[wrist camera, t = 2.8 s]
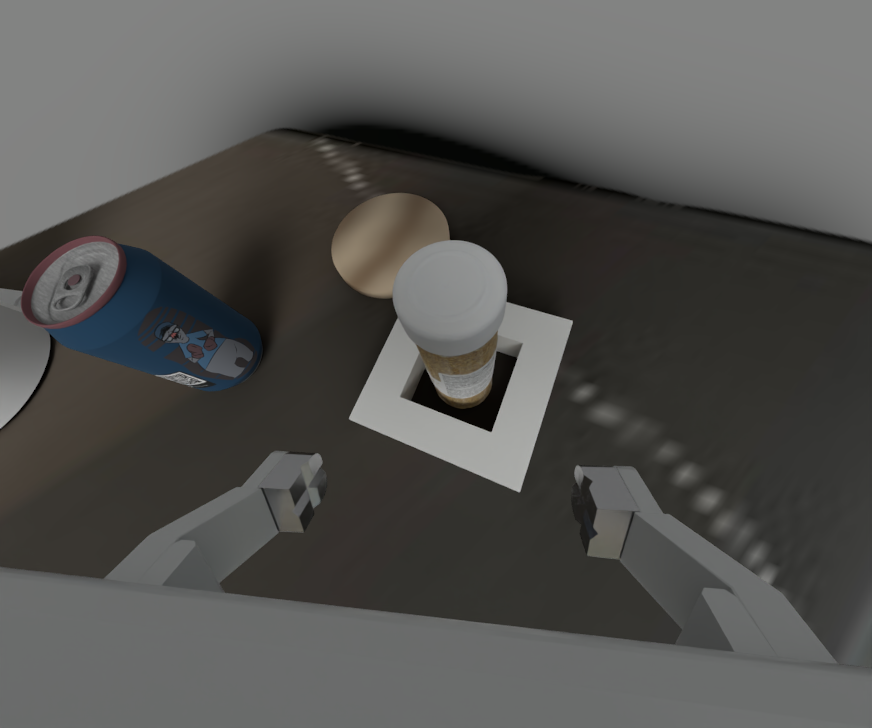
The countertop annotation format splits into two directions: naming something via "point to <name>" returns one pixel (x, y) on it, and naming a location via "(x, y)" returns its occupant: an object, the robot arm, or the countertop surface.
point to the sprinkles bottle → (453, 316)
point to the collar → (456, 440)
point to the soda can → (140, 315)
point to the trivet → (384, 240)
